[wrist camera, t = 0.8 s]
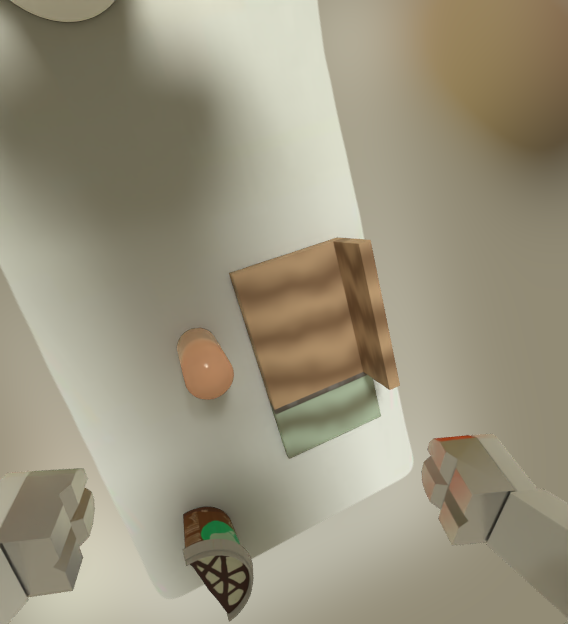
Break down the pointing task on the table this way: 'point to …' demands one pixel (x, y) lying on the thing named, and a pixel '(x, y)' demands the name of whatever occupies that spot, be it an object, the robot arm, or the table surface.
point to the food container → (218, 557)
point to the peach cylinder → (204, 364)
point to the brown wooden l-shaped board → (318, 338)
